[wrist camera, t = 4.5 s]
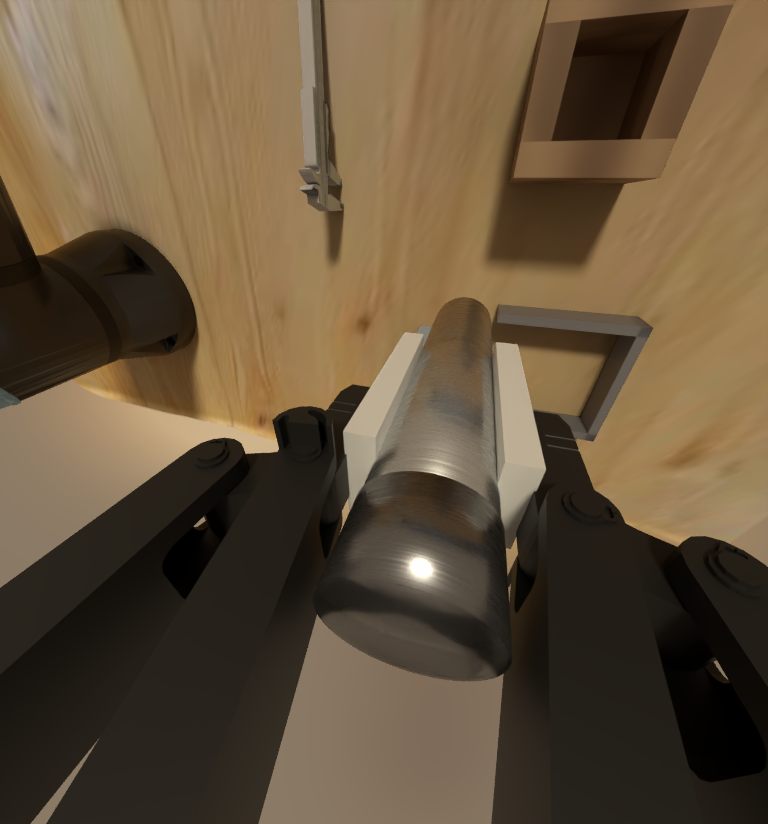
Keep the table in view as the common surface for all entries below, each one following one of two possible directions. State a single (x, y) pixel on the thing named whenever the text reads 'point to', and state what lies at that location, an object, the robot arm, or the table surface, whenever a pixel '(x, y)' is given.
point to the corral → (616, 367)
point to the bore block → (613, 87)
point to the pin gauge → (430, 521)
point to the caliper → (315, 113)
